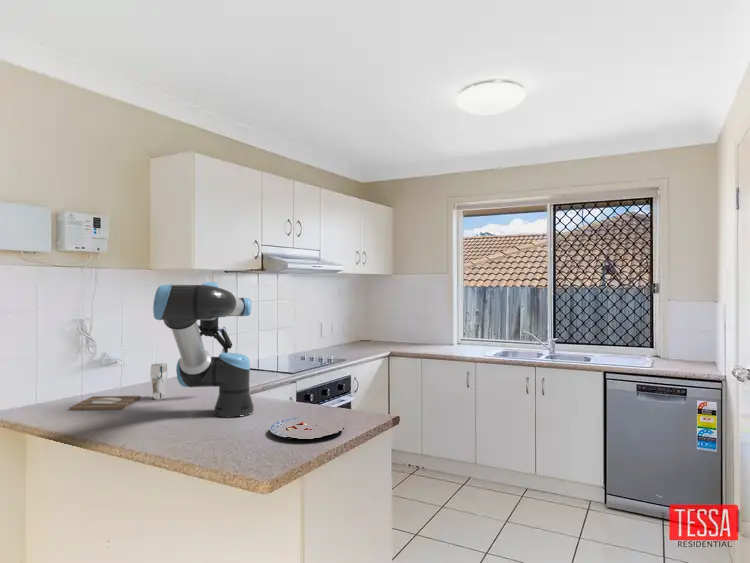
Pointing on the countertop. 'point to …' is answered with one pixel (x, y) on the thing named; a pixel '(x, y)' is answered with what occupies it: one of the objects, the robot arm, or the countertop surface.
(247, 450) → the countertop surface
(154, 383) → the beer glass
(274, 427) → the ceramic plate
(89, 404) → the walnut board
